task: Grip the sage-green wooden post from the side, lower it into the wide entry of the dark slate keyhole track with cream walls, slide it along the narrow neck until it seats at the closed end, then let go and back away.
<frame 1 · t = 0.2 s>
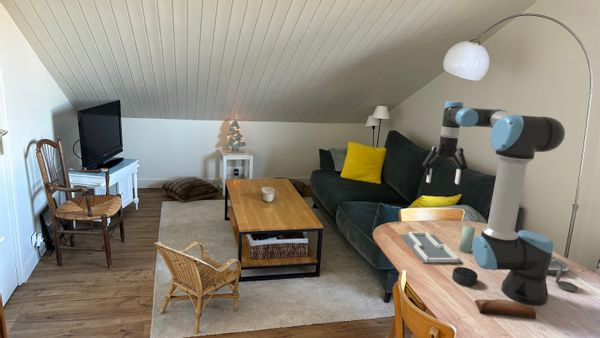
hand: (442, 183, 198), 27 cm above the table, tool pointing down, fingers open, 13 cm apart
sunglasses case: (503, 311, 149), on the table
keyhole track: (429, 248, 193), on the table
brain slice: (539, 266, 184), on the table
smart speaker: (463, 281, 167), on the table
grey disc stand: (563, 287, 167), on the table
sage post: (465, 250, 194), on the table
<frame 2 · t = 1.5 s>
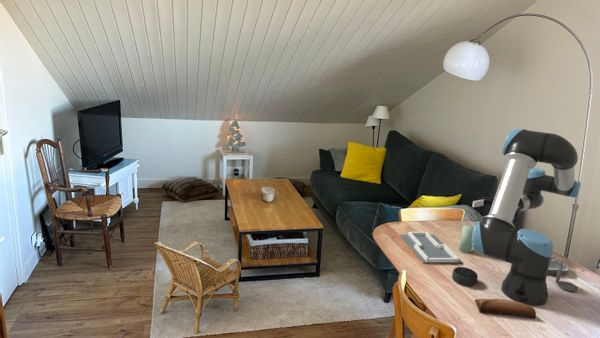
hand: (485, 209, 193), 18 cm above the table, tool horizontal, fingers open, 13 cm apart
nothing on the table moved.
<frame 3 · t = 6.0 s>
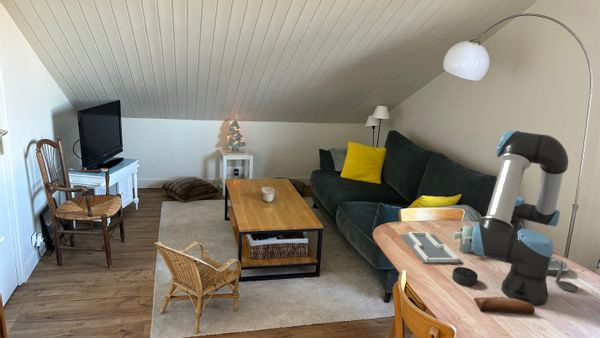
hand: (458, 238, 190), 7 cm above the table, tool horizontal, fingers closed on sage post, 5 cm apart
sunglasses case: (501, 308, 151), on the table
sage post: (465, 250, 194), on the table, touching gripper
everything else where it was.
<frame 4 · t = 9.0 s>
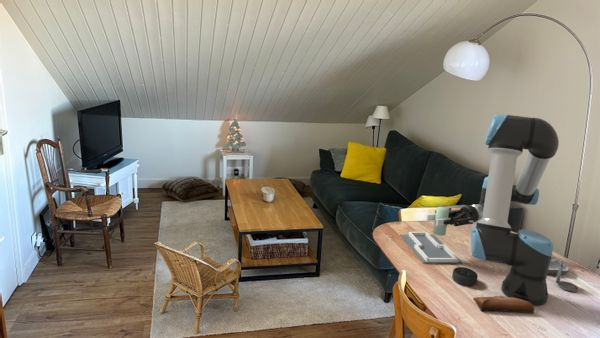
hand: (432, 220, 180), 17 cm above the table, tool horizontal, fingers closed on sage post, 5 cm apart
sage post: (439, 233, 184), point 10 cm above the table, touching gripper
everything else where it was.
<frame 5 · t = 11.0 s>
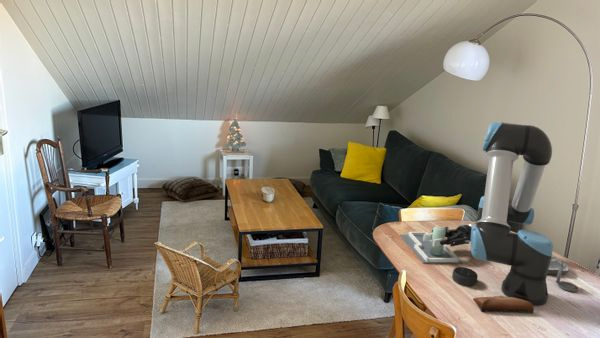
hand: (428, 240, 183), 8 cm above the table, tool horizontal, fingers closed on sage post, 5 cm apart
sage post: (435, 252, 187), point 1 cm above the table, touching gripper
everything else where it was.
when the fingers open (7 cm above the table, at t = 15.7 s): sage post stays where it is, resting on keyhole track.
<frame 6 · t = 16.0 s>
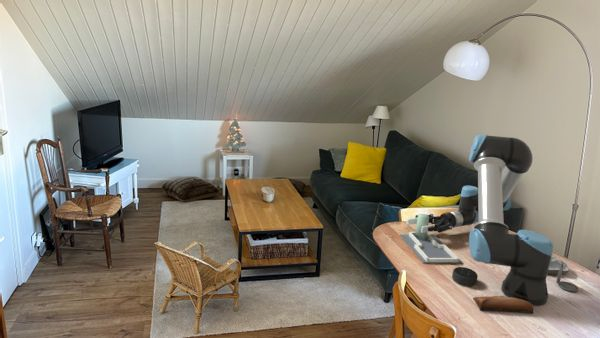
hand: (414, 225, 199), 7 cm above the table, tool horizontal, fingers open, 9 cm apart
sage post: (420, 238, 203), point 1 cm above the table, touching keyhole track
everything else where it was.
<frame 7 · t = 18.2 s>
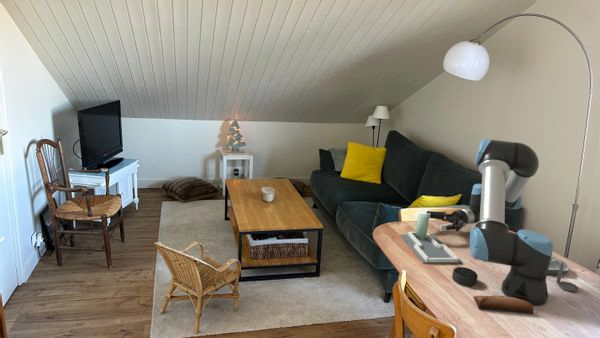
hand: (429, 222, 203), 7 cm above the table, tool horizontal, fingers open, 13 cm apart
nothing on the table moved.
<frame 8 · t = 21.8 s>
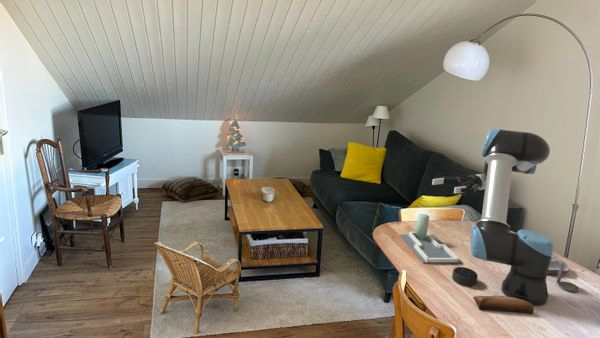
hand: (443, 186, 201), 25 cm above the table, tool horizontal, fingers open, 13 cm apart
nothing on the table moved.
at the end: sage post 0.2 cm from the target spot on the keyhole track, point 0.6 cm above the keyhole track's base; sage post tilted 0°; the gripper is holding nothing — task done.
